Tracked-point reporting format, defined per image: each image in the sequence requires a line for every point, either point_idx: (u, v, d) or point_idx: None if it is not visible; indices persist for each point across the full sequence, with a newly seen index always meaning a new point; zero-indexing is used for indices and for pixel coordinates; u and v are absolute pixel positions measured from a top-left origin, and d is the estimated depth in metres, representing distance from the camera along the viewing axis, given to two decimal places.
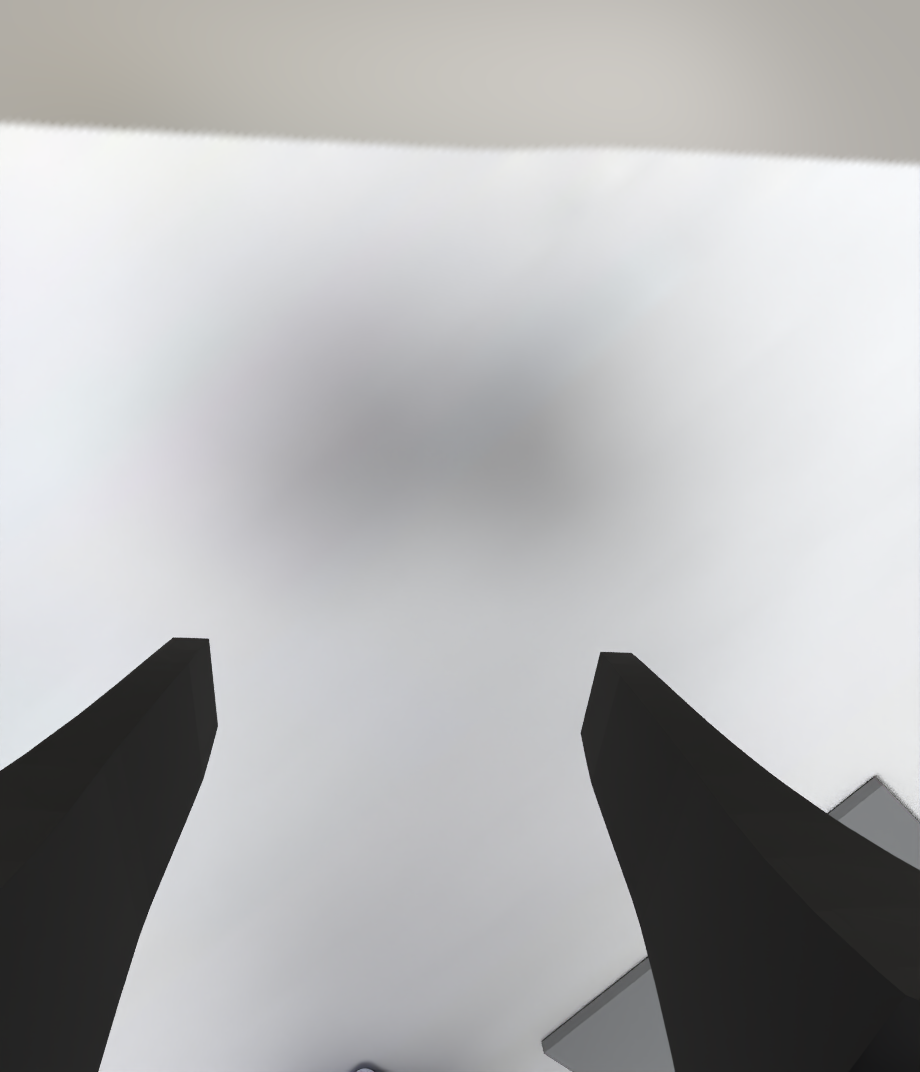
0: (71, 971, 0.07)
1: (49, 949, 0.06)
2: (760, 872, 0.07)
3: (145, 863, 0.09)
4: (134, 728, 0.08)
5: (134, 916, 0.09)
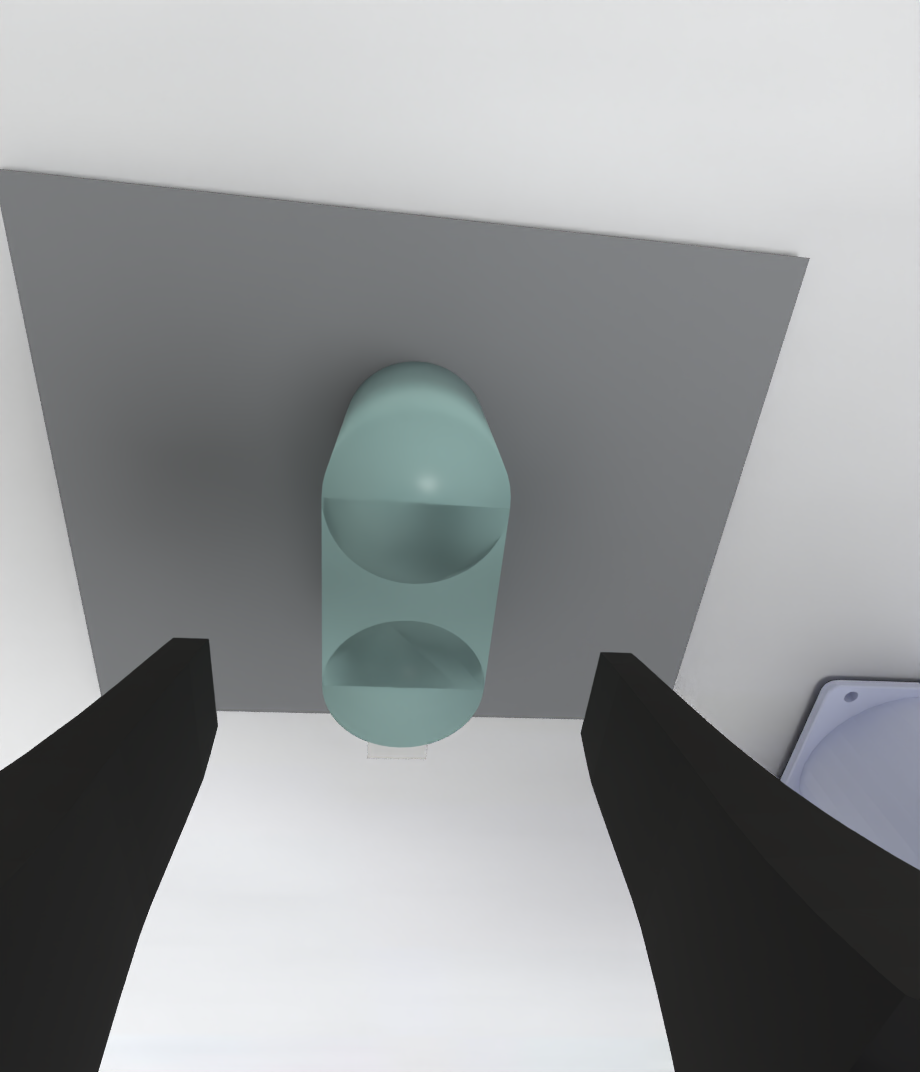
0: (71, 971, 0.07)
1: (49, 949, 0.06)
2: (760, 872, 0.07)
3: (145, 863, 0.09)
4: (134, 728, 0.08)
5: (134, 916, 0.08)
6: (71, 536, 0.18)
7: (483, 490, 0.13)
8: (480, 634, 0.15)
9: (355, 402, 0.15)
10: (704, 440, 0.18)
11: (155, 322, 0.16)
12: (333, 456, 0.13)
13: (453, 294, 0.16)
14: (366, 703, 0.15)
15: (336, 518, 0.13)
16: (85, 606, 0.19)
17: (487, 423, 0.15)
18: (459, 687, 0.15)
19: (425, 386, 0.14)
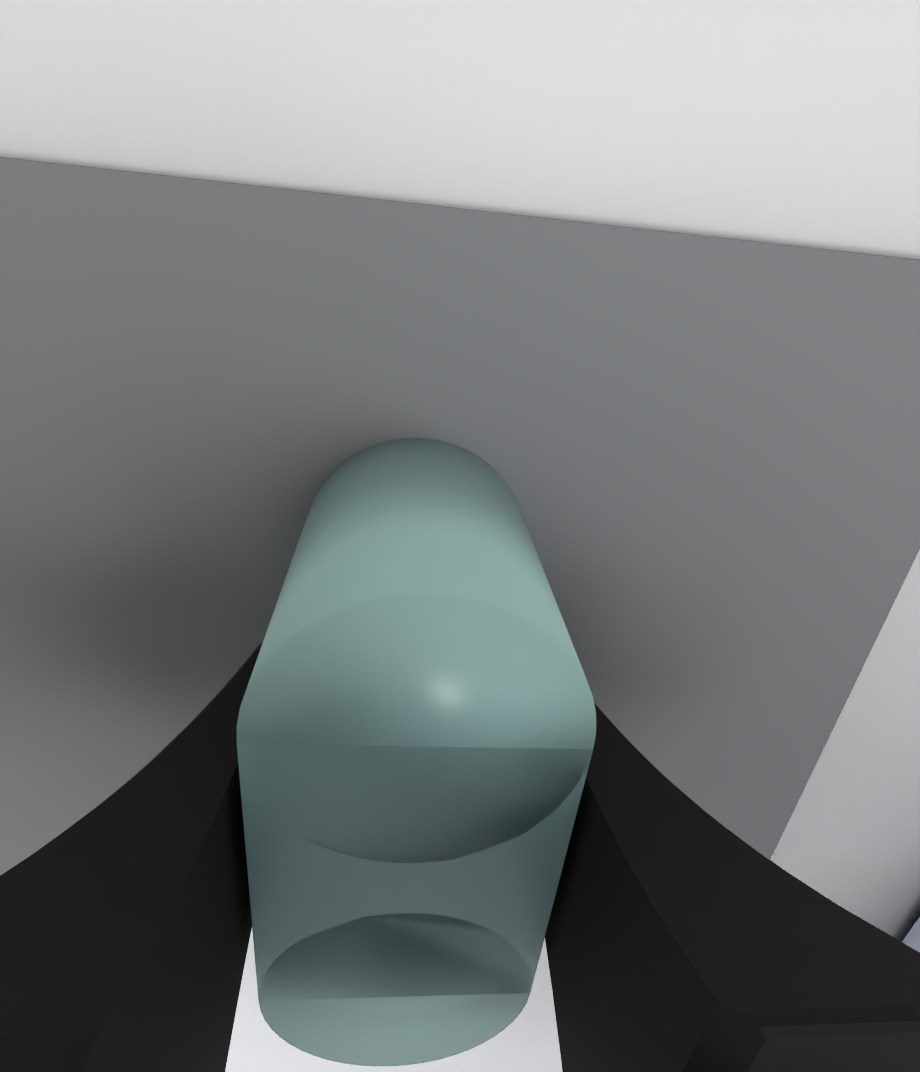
0: (214, 968, 0.07)
1: (203, 946, 0.06)
2: (623, 873, 0.06)
3: None
4: None
5: (247, 915, 0.09)
6: None
7: (546, 723, 0.07)
8: (528, 924, 0.09)
9: (315, 520, 0.09)
10: (851, 546, 0.12)
11: None
12: (256, 675, 0.06)
13: (477, 334, 0.10)
14: (335, 1018, 0.09)
15: (269, 774, 0.07)
16: None
17: (536, 553, 0.09)
18: (490, 991, 0.09)
19: (434, 507, 0.08)
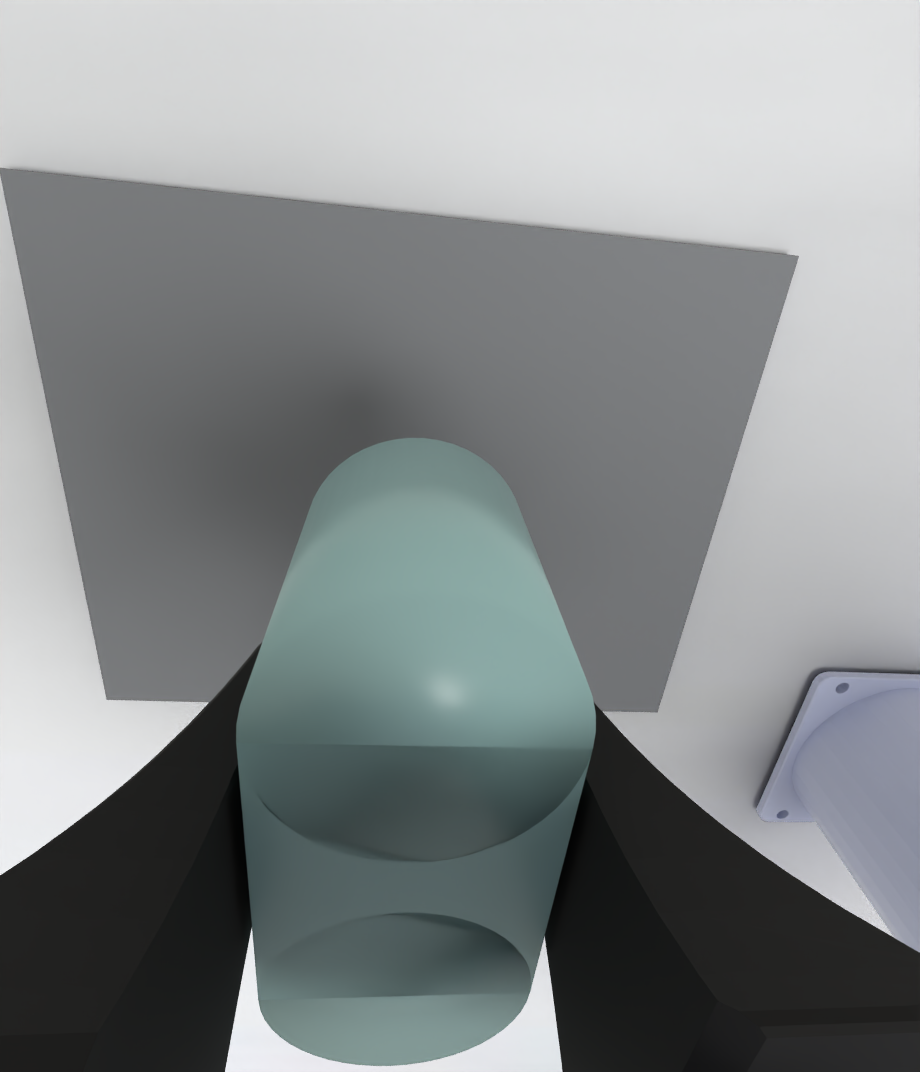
0: (214, 968, 0.07)
1: (203, 946, 0.06)
2: (624, 872, 0.06)
3: None
4: None
5: (248, 914, 0.09)
6: (75, 530, 0.19)
7: (545, 722, 0.07)
8: (528, 924, 0.09)
9: (314, 520, 0.09)
10: (696, 435, 0.19)
11: (158, 319, 0.16)
12: (255, 674, 0.06)
13: (450, 291, 0.16)
14: (335, 1018, 0.09)
15: (268, 774, 0.07)
16: (88, 599, 0.20)
17: (536, 552, 0.09)
18: (489, 991, 0.09)
19: (434, 507, 0.08)
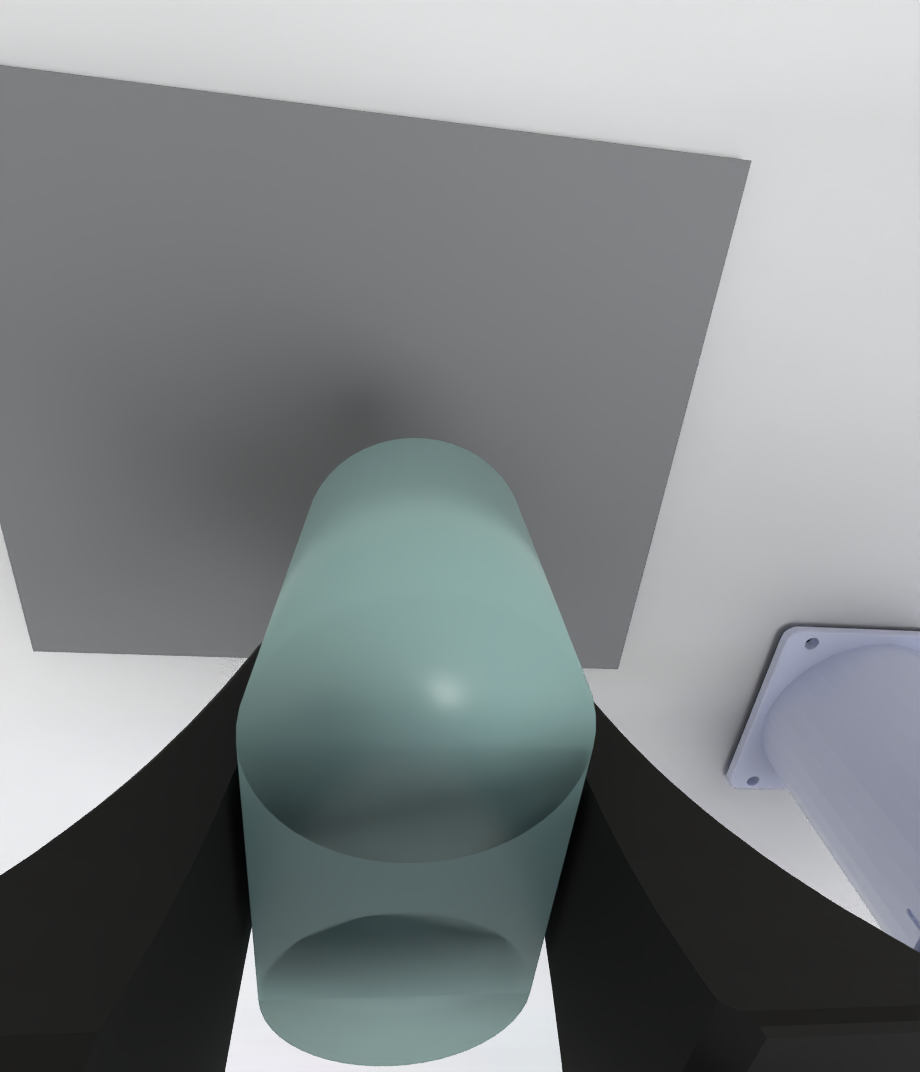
0: (214, 968, 0.07)
1: (203, 946, 0.06)
2: (623, 873, 0.06)
3: None
4: None
5: (247, 915, 0.09)
6: None
7: (545, 723, 0.07)
8: (528, 924, 0.09)
9: (314, 520, 0.09)
10: (648, 362, 0.17)
11: (62, 225, 0.15)
12: (255, 675, 0.06)
13: (376, 196, 0.15)
14: (335, 1018, 0.09)
15: (268, 774, 0.07)
16: (7, 539, 0.18)
17: (536, 553, 0.09)
18: (489, 991, 0.09)
19: (434, 507, 0.08)
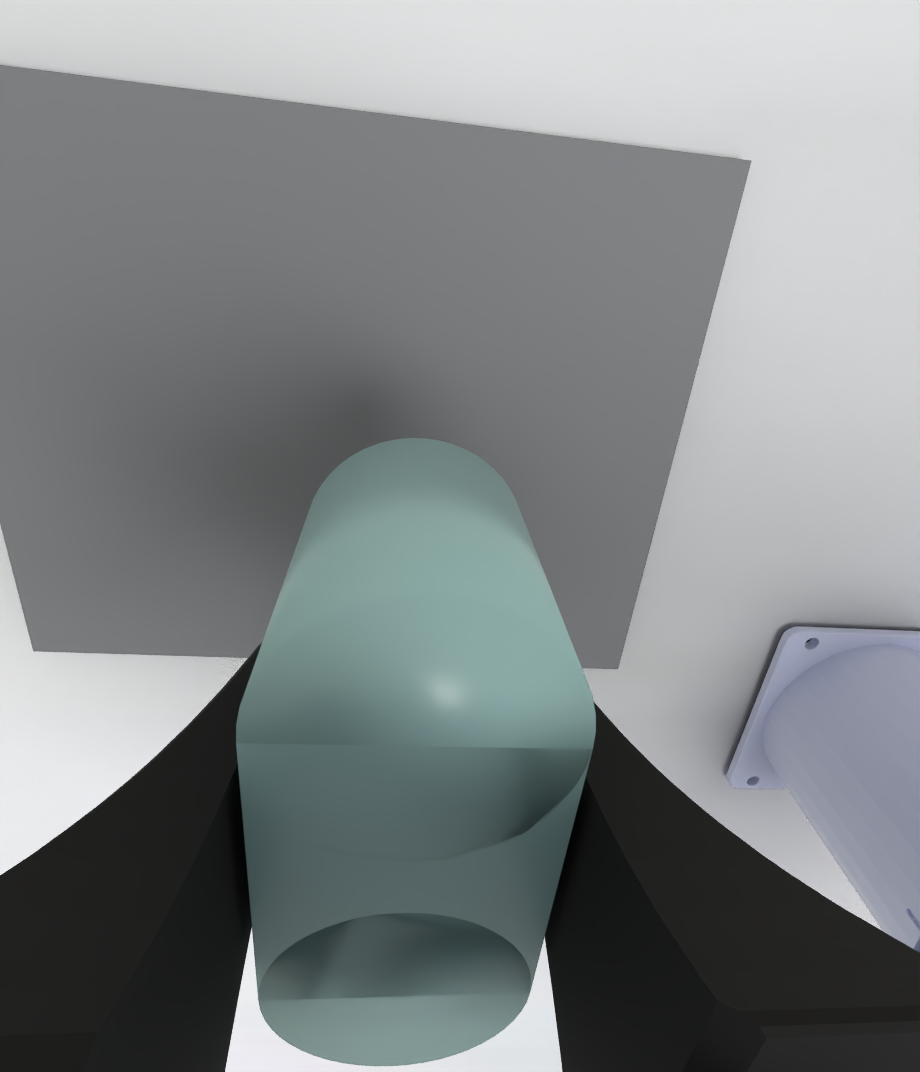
0: (214, 968, 0.07)
1: (203, 946, 0.06)
2: (623, 873, 0.06)
3: None
4: None
5: (247, 915, 0.09)
6: None
7: (545, 723, 0.07)
8: (528, 924, 0.09)
9: (314, 520, 0.09)
10: (648, 362, 0.17)
11: (62, 225, 0.15)
12: (255, 675, 0.06)
13: (376, 196, 0.15)
14: (335, 1018, 0.09)
15: (268, 774, 0.07)
16: (7, 539, 0.18)
17: (536, 553, 0.09)
18: (489, 991, 0.09)
19: (434, 507, 0.08)
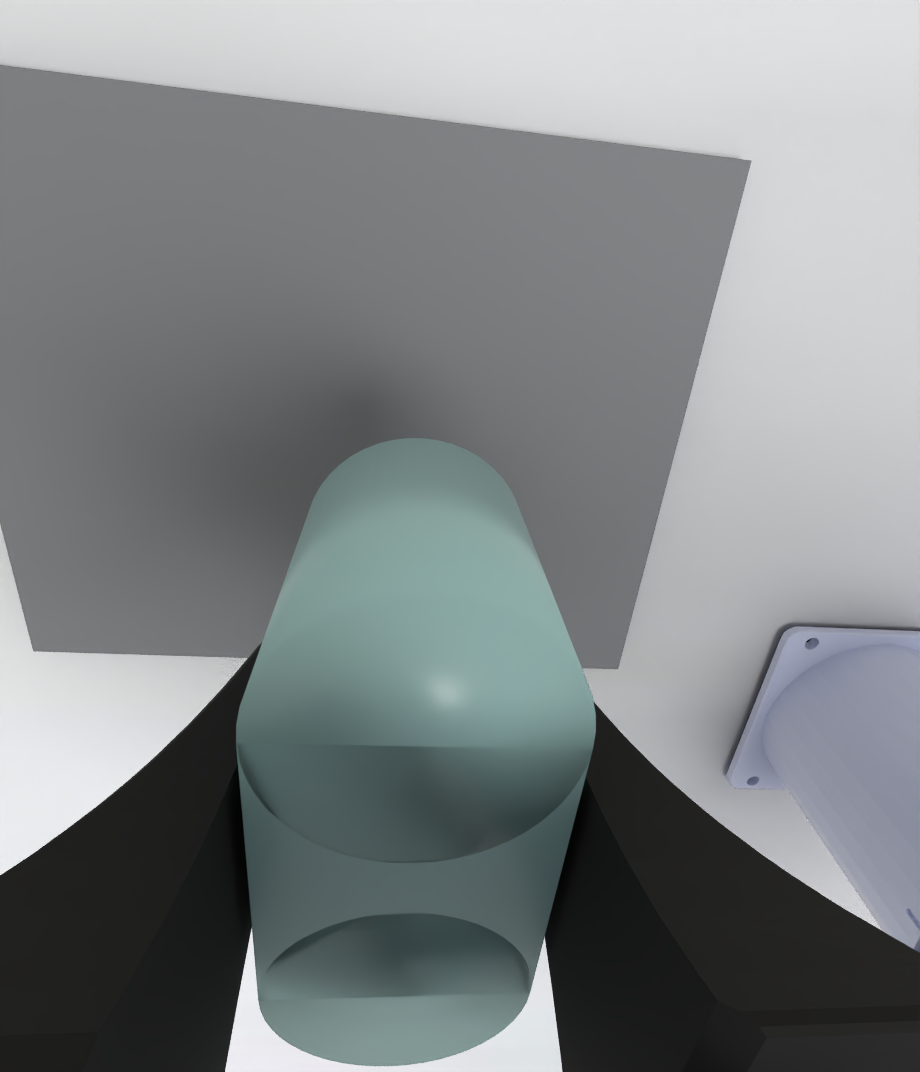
0: (214, 968, 0.07)
1: (203, 946, 0.06)
2: (623, 873, 0.06)
3: None
4: None
5: (247, 915, 0.09)
6: None
7: (545, 723, 0.07)
8: (528, 924, 0.09)
9: (314, 520, 0.09)
10: (648, 362, 0.17)
11: (62, 225, 0.15)
12: (255, 675, 0.06)
13: (376, 196, 0.15)
14: (334, 1018, 0.09)
15: (268, 774, 0.07)
16: (7, 539, 0.18)
17: (536, 553, 0.09)
18: (489, 991, 0.09)
19: (434, 507, 0.08)
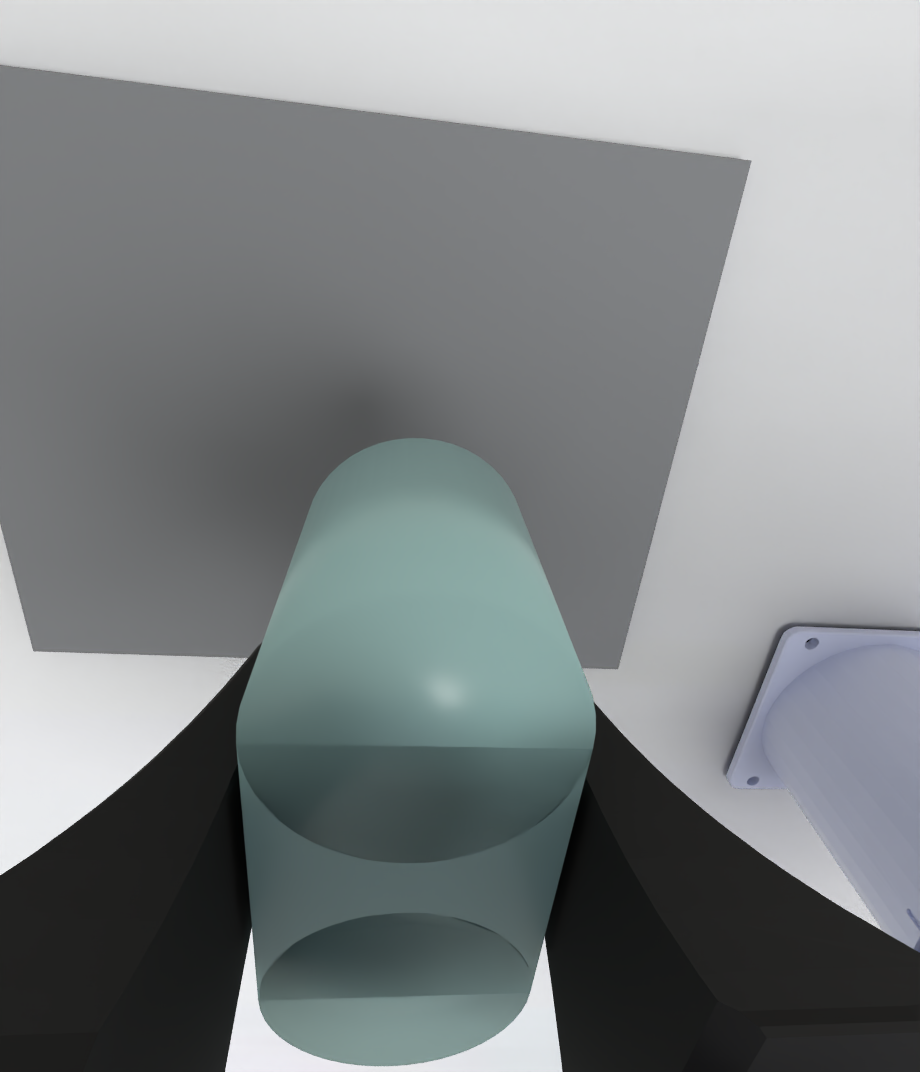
0: (214, 968, 0.07)
1: (203, 946, 0.06)
2: (623, 873, 0.06)
3: None
4: None
5: (247, 915, 0.09)
6: None
7: (545, 723, 0.07)
8: (528, 924, 0.09)
9: (314, 520, 0.09)
10: (648, 362, 0.17)
11: (62, 225, 0.15)
12: (255, 675, 0.06)
13: (376, 196, 0.15)
14: (334, 1018, 0.09)
15: (268, 774, 0.07)
16: (7, 539, 0.18)
17: (536, 553, 0.09)
18: (489, 991, 0.09)
19: (434, 507, 0.08)
